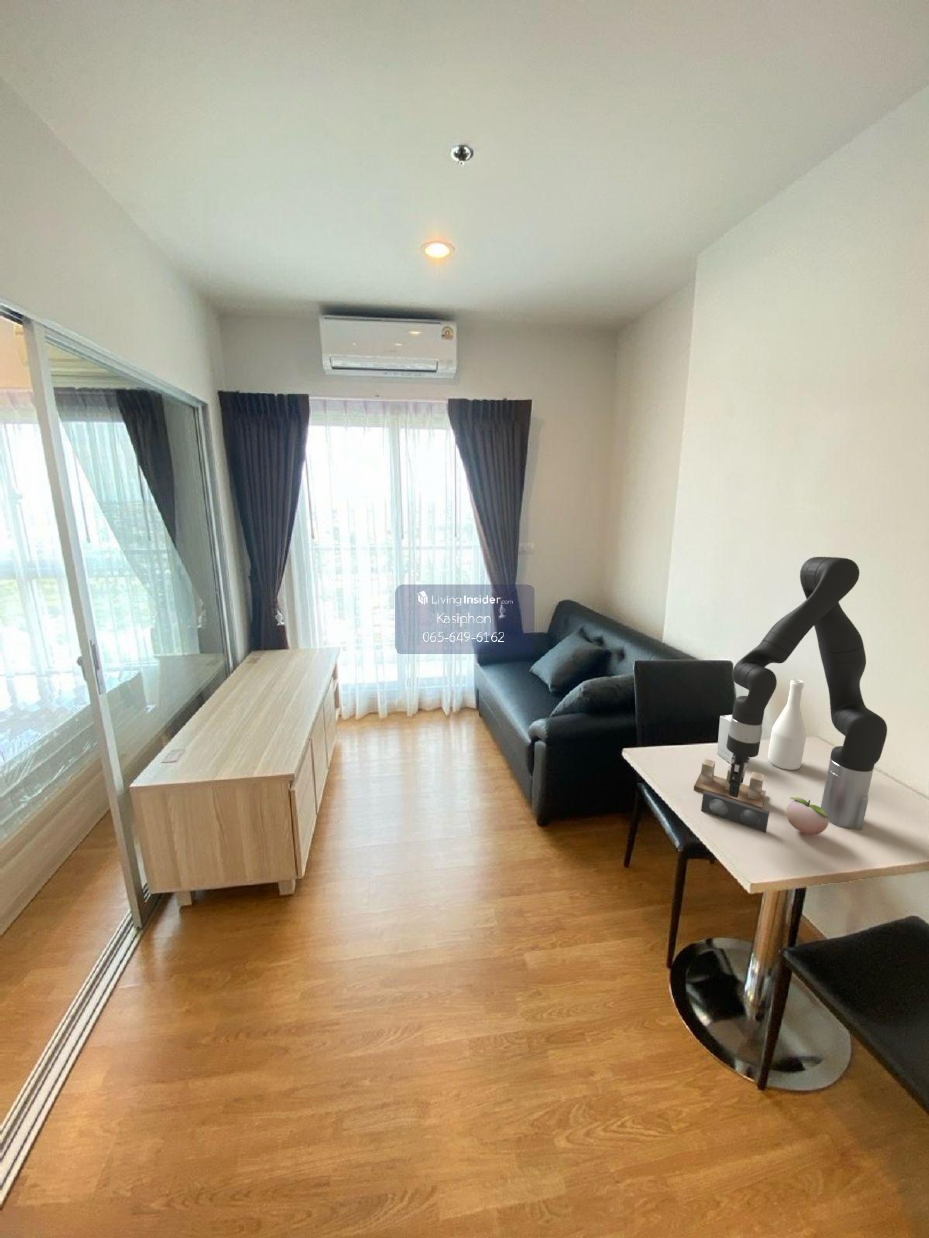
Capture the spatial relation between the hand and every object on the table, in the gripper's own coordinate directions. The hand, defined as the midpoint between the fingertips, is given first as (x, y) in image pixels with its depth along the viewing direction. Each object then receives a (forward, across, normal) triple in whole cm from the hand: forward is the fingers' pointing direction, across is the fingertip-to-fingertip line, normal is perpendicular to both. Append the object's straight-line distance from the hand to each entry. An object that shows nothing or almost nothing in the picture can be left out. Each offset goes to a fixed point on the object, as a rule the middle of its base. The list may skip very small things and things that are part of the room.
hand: (735, 788), depth 130 cm
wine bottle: (+10, +44, -9) cm, 46 cm away
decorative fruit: (+10, +5, -16) cm, 20 cm away
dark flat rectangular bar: (+10, 0, 0) cm, 10 cm away
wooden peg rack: (+10, +14, +3) cm, 17 cm away
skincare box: (+10, +37, +6) cm, 39 cm away
